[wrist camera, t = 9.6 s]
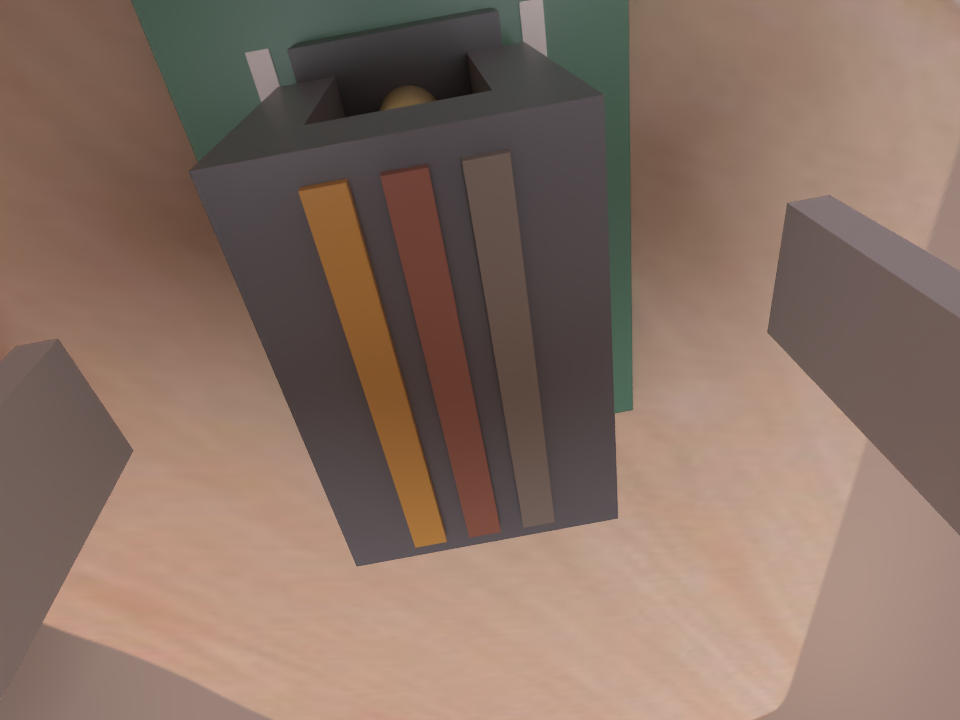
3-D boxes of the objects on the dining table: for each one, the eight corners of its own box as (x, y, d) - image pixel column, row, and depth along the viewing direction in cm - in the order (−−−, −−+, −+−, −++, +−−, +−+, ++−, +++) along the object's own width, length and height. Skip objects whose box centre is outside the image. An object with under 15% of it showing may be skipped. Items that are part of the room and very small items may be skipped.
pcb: (85, -132, 13) (-79, -182, 9) (619, -230, 13) (727, -330, 9) (325, 457, 23) (305, 575, 19) (628, 402, 23) (681, 506, 19)
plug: (277, 87, 14) (184, 175, 8) (523, 41, 14) (607, 97, 8) (371, 385, 19) (356, 573, 13) (554, 351, 19) (620, 524, 13)
